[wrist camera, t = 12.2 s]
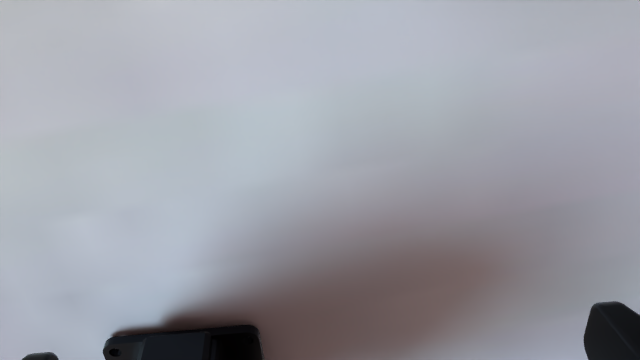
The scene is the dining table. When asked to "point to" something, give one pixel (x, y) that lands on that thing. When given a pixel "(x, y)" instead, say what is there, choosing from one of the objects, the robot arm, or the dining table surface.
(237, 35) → the dining table surface
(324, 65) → the dining table surface
